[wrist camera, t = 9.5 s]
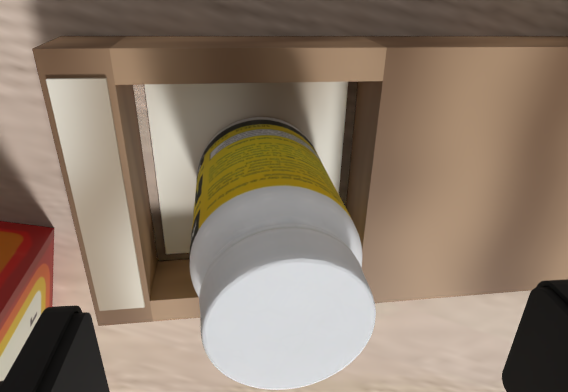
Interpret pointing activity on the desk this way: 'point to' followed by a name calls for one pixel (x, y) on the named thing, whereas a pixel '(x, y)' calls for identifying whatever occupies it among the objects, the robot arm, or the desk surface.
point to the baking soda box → (23, 285)
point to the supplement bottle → (275, 260)
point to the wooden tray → (321, 153)
